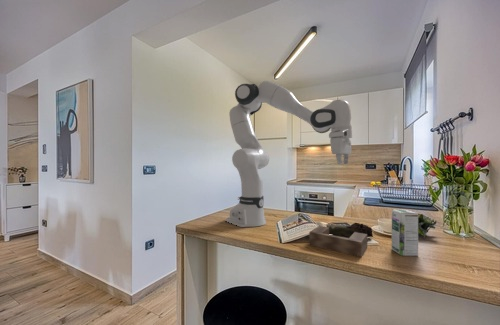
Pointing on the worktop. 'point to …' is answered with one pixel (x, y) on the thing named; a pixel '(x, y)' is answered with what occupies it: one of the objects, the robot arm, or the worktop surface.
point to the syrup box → (405, 232)
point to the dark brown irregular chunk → (350, 229)
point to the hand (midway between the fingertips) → (343, 164)
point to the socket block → (338, 241)
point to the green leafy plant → (424, 224)
